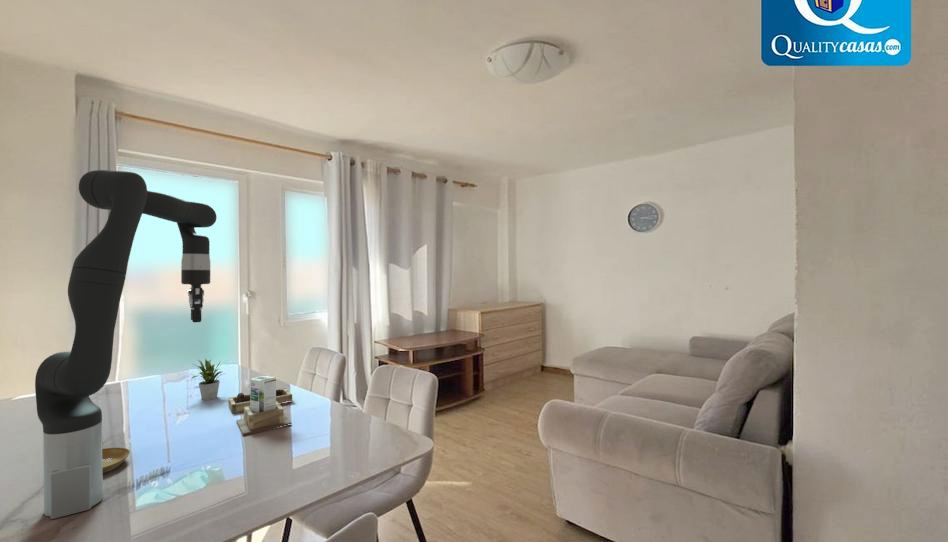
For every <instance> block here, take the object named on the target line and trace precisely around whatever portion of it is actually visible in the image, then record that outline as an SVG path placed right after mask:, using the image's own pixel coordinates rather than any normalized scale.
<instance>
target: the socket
mask: <svg viewBox="0 0 948 542" xmlns="http://www.w3.org/2000/svg"><path fill="white" fill-rule="evenodd" d="M292 423H293V422H291V420H290V419H289V418H288V416H286V415H285V413H284V408H283V407H282V404H281V405H280V404H279V403H278V402H277V401H276V409H274V410H269V411H264V412H258V413H252V412H251V410H250V406H247V407H244V411H243V418H240V419H236V424H237V426H238V429H239V431H240V432H241V434H242V436H243V437H244V436H248V435H253V434H254V435H255V434H258V433H262V432H268V431H271V429H273V430H275V429H274V428H277V427H280V426H284V425H288V424H292ZM277 429H278V428H277Z"/></svg>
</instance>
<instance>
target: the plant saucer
mask: <svg viewBox="0 0 948 542" xmlns="http://www.w3.org/2000/svg"><path fill="white" fill-rule="evenodd" d="M130 454H131V450H130V449H129V448H126V447H106V448H102V459H105V461H106V459H108V458H110V459H111V458H112V459H111V461H112V462H110V461H109V462H107V461H106V462H104V461H103V463H102V467H103V473H104V474H106V473H108V472H111V471H113V470H115V469H116V468H118V467H119V466H120V465H122V464H123V463H124V461H125V460H126V459H127V458H128V457H129V455H130Z"/></svg>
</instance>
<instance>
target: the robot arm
mask: <svg viewBox="0 0 948 542" xmlns="http://www.w3.org/2000/svg"><path fill="white" fill-rule="evenodd" d="M147 186H148V185H147V183H146V181H145V179H144V177H143V176H142V175H141V174H139V173H137V172H132V171H126V170H124V171H123V170H107V169H97V170H91V171H87V172H86V173H84V174H83V175H82V176H81V177H80V178H79V182H78V192H79V194H80V196H81V198H82V200H84V202H85V203H86V204H88V205H89V206H92V207H94V208H96V209H100V210H108V211H110V212H109V214H108V217H107V220H106V222H105V224H104V226H103V228H102V229H101V231H100V232H99V233H97V235H96V236H95V237H94V238H93V239H92V240H90V242H89V243H88V244H87V245H86V246H85V247H84V248H83V249H82V250H81V251H80V253H78V255H77V256H76V257H75V259H74V261H73V264H72V268H71V273H70V276H69V280H68V285H67V297H68V302H69V305H70V308H71V311H72V315H73V319H74V325H75V330H74V331H75V333H74V337H73V342H72V346H71V350H70V351H61V352H60V351H59V352H56V353H53V354H51V355H49V356H48V357H46V358H44V359H43V361H42V362H41V363H40V364H39V366H38V368H37V370H36V373H35V377H34V378H35V380H34V387H35V389H34V390H35V401H36V414H37V417H38V419H39V421H40V423H41V424H42V443H43V445H42V447H43V448H42V451H43V452H42V453H43V454H42V455H43V456H42V457H43V458H42V459H43V460H42V461H43V464H42V465H43V507H44V508H43V512H44V516H45V517H49V518H50V519H49V520H55V519H58V518H63V517H65V516H69V515H73V514H77V513H81V512H84V511H89V510H91V509H92V508H93V506H95V505H97V504H99V503H100V502H101V500H103V497H104V477H103V475H104V474H103V467H102V449H103V413H102V409H101V407H99V406H98V405H97V404H96V403H94V402H93V401H92V400H91V397H90V396H92V395H95V394H96V393H98V392H99V391H100V390H101V389H103V387H104V386H105V385H106V383H107V381H108V380H109V377H110V374H111V369H112V363H113V350H114V349H113V348H114V337H115V329H116V325H117V324H116V323H117V317H118V313H119V308H120V303H121V299H122V294H123V290H124V286H125V281H126V278H127V271H128V265H129V260H130V255H131V252H132V248H133V242H134V240H135V237H136V232H137V230H138V227H139V223H140V221H141V217H142V215H143V214H144V215H147V216H150V217H155V218H158V219H162V220H166V221H168V222H173V223H176V225H177V227H178V231H179V234H180V238H181V240H182V245H181V246H182V249H181V250H182V256H181V263H180V264H181V267H180V268H181V272H180V273H181V276H180V278H181V279H180V281H181V284H182V285H191V287H190V288H189V290H187V294H188V295H187V296H188V303H189V308H190V321H192V322H193V323H201V322H202V310H203V306H204V305H203V304H204V301H205V300H204V297H205V290H204V289H203V287H202V285H209V284H211V258H210V257H211V256H210V238H209V237H208V236H206V235H202V234H198V233H197V232H196V229H197V228H209V227H212V226H213V225H214V224H215V223H216V222H217V213H216V211H215V210H214V208H213V207H212V206H210V205H209V204H206V203H201V202H196V201H189V200H184V199H182V198H180V197H177V196H174V195H171V194H167V193H163V192H157V191H152V190H148V187H147ZM195 228H196V229H195Z"/></svg>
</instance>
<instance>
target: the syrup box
mask: <svg viewBox="0 0 948 542" xmlns="http://www.w3.org/2000/svg"><path fill="white" fill-rule="evenodd" d="M249 381H250V382H249V383H250V384H249V385H250V386H249V388H250V391H249V392H250V393H249V394H250V410H251V412H252V413H258V412H264V411H269V410H274V409H276V390H277V377H276V376H267V375H260V376H256V377H252V378H250V379H249Z"/></svg>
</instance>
